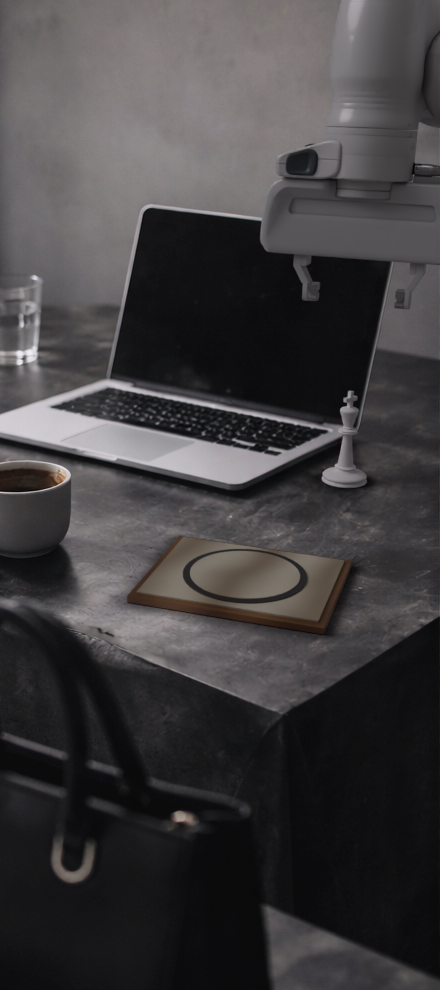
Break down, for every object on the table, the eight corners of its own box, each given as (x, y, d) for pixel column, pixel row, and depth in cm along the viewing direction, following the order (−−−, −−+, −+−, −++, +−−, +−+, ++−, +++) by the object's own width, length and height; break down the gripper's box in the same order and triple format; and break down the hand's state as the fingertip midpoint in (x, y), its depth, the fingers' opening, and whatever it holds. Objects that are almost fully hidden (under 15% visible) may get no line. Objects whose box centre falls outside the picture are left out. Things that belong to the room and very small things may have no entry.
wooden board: (352, 566, 86) (353, 556, 85) (324, 635, 74) (324, 623, 74) (179, 541, 90) (179, 531, 89) (126, 602, 78) (126, 591, 78)
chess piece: (312, 478, 107) (317, 389, 103) (343, 469, 110) (349, 383, 106) (345, 491, 103) (352, 399, 100) (376, 482, 106) (384, 392, 103)
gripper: (479, 165, 95) (461, 308, 100) (275, 155, 100) (267, 291, 105) (476, 167, 89) (457, 318, 94) (260, 156, 95) (252, 300, 99)
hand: (355, 304), depth 100 cm, fingers open, 8 cm apart
